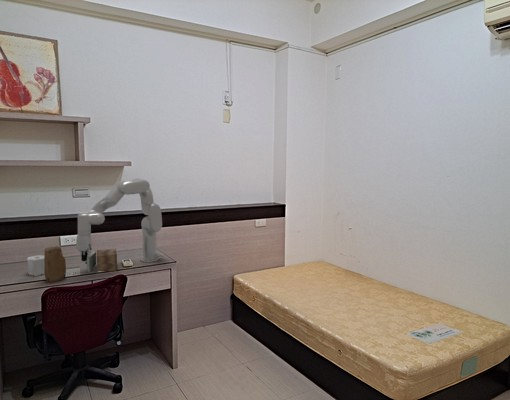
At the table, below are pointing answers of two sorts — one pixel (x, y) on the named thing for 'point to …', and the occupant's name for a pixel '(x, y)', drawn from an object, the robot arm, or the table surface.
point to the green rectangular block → (91, 261)
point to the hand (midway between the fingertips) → (84, 260)
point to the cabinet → (107, 260)
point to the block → (54, 264)
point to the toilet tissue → (36, 265)
